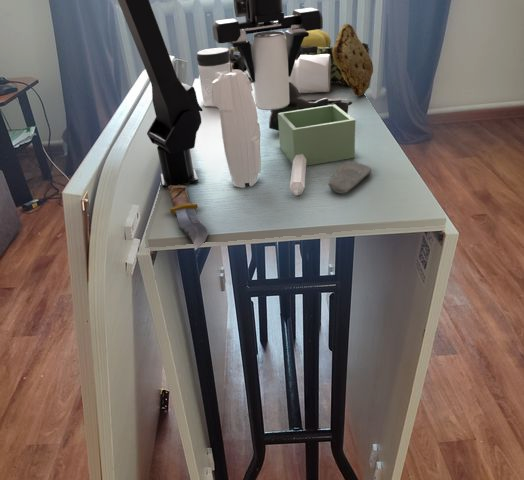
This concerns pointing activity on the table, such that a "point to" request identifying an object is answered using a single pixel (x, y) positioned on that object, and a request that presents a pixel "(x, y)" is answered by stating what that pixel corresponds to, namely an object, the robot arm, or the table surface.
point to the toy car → (335, 72)
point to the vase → (312, 73)
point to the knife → (187, 215)
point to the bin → (317, 134)
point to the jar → (211, 69)
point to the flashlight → (238, 125)
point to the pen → (331, 100)
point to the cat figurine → (300, 106)
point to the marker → (298, 175)
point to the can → (270, 70)
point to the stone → (348, 176)
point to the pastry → (352, 60)
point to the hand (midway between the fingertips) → (271, 78)
